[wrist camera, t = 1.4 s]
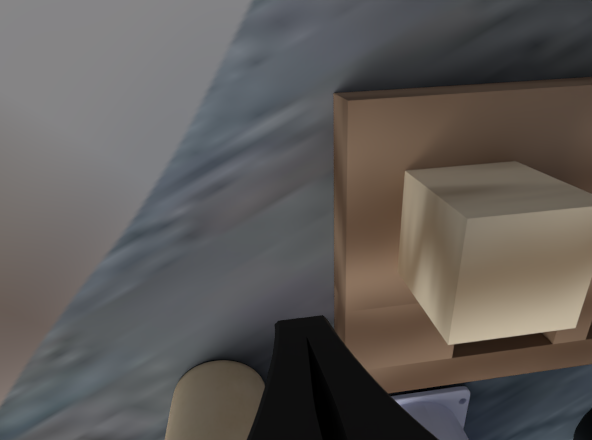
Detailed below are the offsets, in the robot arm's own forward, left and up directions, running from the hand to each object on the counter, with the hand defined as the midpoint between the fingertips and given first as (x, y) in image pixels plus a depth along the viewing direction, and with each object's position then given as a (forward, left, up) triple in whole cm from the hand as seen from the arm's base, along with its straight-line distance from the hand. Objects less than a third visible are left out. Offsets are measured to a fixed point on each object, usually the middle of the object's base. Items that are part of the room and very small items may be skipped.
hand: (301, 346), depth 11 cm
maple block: (0, -8, -7) cm, 11 cm away
